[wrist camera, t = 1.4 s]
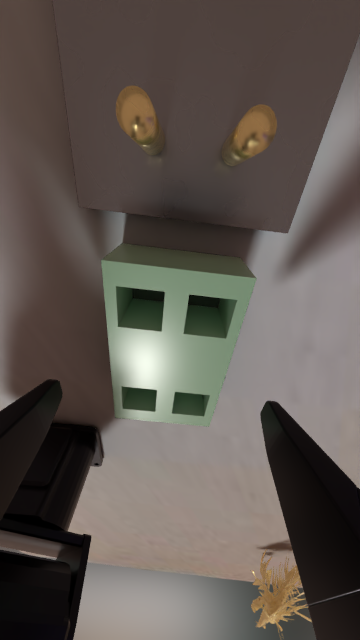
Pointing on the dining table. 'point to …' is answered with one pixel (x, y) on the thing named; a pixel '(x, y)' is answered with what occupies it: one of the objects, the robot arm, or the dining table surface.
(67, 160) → the dining table surface
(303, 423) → the dining table surface
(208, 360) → the green block with holes
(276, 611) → the straw tuft
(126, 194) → the grey peg plate
